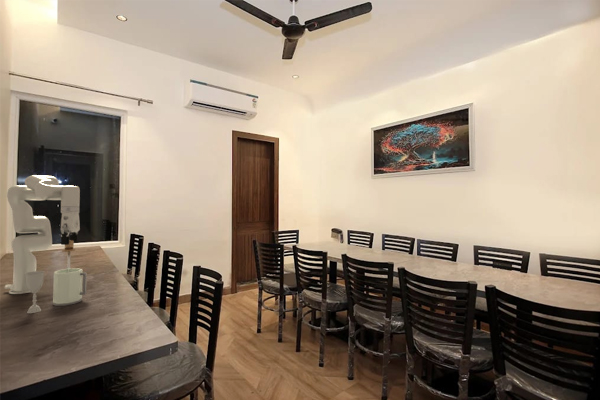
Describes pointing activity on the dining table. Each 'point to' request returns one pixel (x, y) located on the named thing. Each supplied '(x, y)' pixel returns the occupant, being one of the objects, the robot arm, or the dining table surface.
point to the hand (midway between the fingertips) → (69, 243)
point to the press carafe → (68, 286)
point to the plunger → (68, 249)
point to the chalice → (34, 287)
